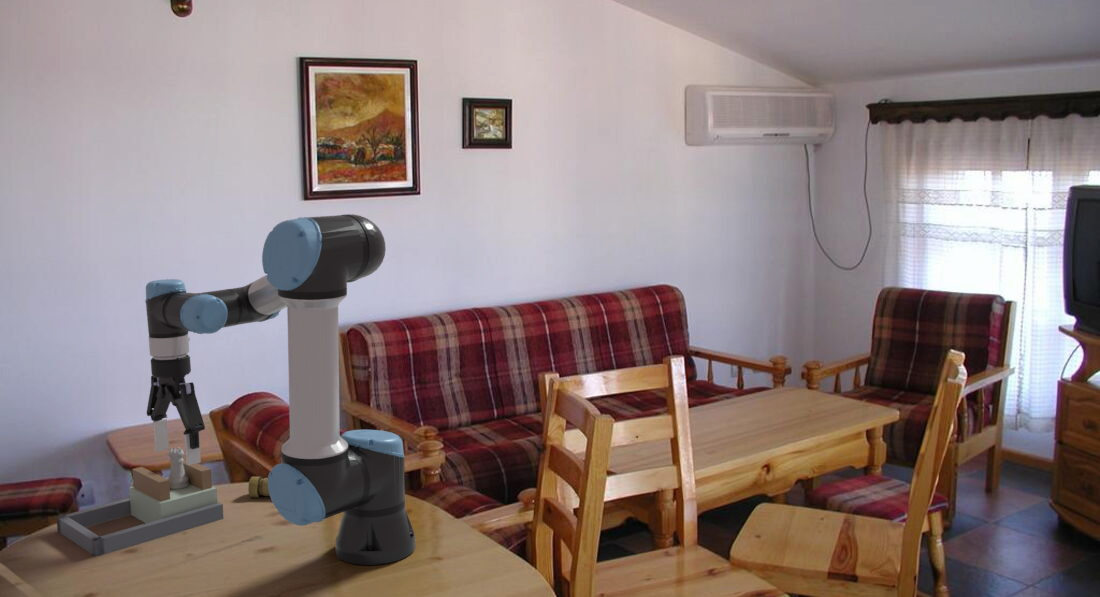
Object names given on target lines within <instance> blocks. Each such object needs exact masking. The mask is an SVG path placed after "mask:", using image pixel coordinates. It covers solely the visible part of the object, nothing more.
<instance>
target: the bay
mask: <svg viewBox="0 0 1100 597" xmlns="http://www.w3.org/2000/svg"><path fill="white" fill-rule="evenodd" d="M127 516H132V515H131V507H130V497H127V498H123V499H120V500H117V501H113V502H109V503H106V504H105V503H104V504H101V505H98V506H93V507H90V508H85V509H82V510H78V511H75V512H71V513H67V514H63V515H60V516H56V529H57V532H58V533H59V534H60V535H62V536H63V537H65V538H66V539H68V540H70V541H71V542H73V543H74V544H75V545H77V546H79V547H80V548H82V549H83V550H85V551H86V552H88V553H89V554H91V555H92V556H94V557H96V558H97V557H100V556H103V555H107V554H109V553H113V552H116V551H119V550H120V551H121V550H123V549H127V548H130V547H133V546H136V545H140V544H143V543H147V542H150V541H154V540H156V539H159V538H163V537H166V536H170V535H174V534H177V533H180V532H183V531H186V530H191V529H194V528H197V527H200V526H204V525H206V524H211V523H215V522H216V521H221V520H224V519H225V518H224V504H223V503H221V502H218V503H216V504H212V505H209V506H205V507H202V508H198V509H195V510H191V511H188V512H184V513H181V514H177V515H174V516H170V517H167V518H163V519H160V520H156V521H152V522H149V523H145V522H144V523H142V524H139V525H135V526H132V527H131V526H130V527H129V528H125V529H121V530H118V531H114V532H111V533H108V534H104V535H97V534H96V533H95V532H94V531H91V530H90V529H89V528H87V527H90V526H95V525H98V524H101V523H105V522H110V521H113V520H116V519H119V518H124V517H127Z"/></svg>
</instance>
